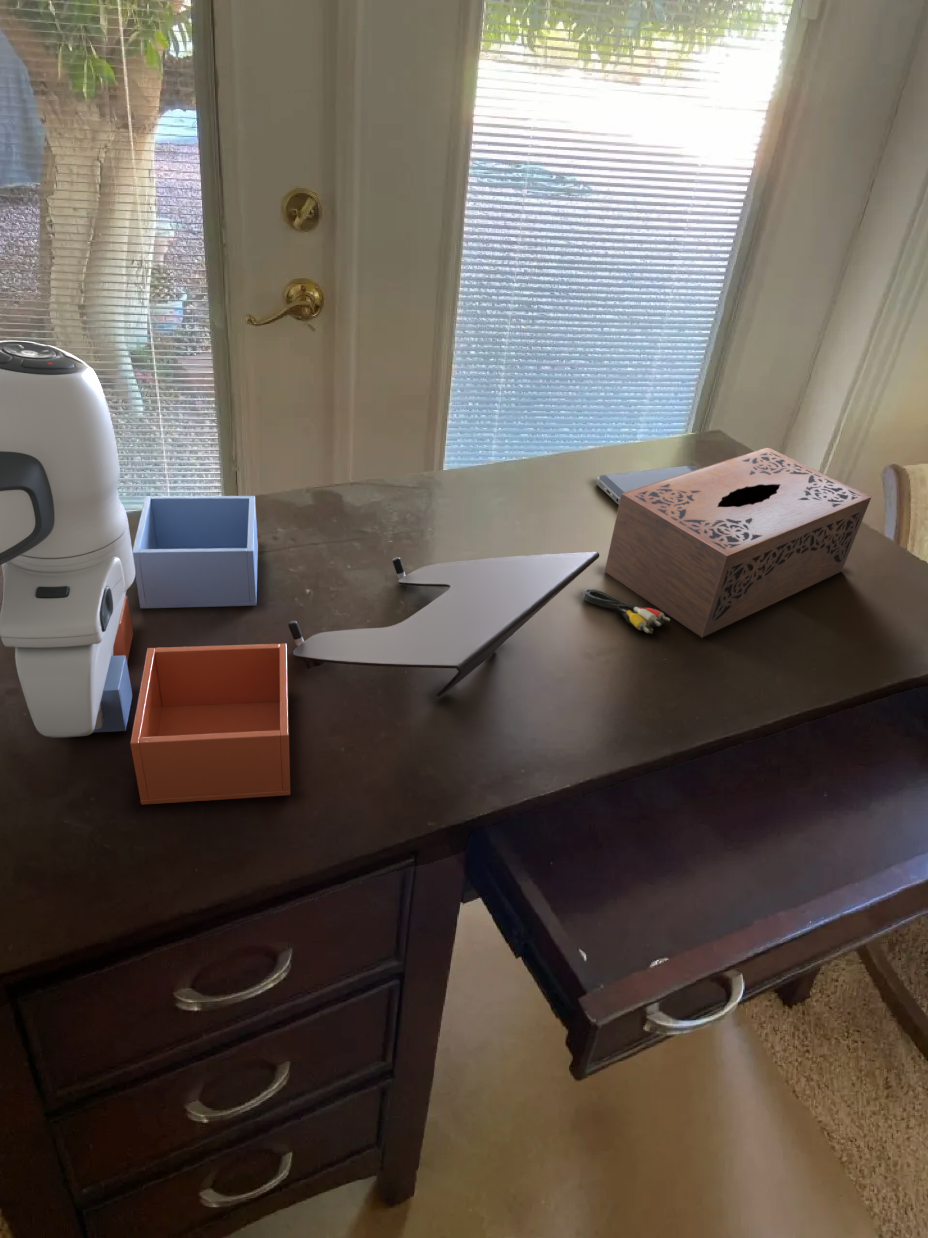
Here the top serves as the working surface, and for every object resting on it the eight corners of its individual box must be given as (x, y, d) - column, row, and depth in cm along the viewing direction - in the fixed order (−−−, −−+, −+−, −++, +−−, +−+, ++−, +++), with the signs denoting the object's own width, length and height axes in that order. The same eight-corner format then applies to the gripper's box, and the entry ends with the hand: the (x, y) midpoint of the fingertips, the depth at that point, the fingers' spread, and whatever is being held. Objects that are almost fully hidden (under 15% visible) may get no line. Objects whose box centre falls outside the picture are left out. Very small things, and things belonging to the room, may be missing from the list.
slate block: (68, 734, 73) (58, 692, 70) (77, 697, 77) (68, 657, 74) (125, 731, 74) (118, 690, 71) (132, 695, 77) (125, 655, 75)
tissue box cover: (701, 637, 92) (726, 556, 86) (604, 571, 101) (621, 493, 95) (841, 571, 106) (871, 496, 100) (745, 518, 115) (767, 447, 109)
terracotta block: (74, 665, 80) (66, 625, 77) (83, 635, 84) (75, 596, 81) (127, 663, 81) (120, 624, 78) (133, 634, 84) (127, 595, 82)
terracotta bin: (141, 805, 68) (130, 743, 64) (156, 707, 77) (147, 647, 73) (290, 795, 70) (288, 735, 66) (288, 701, 79) (286, 643, 75)
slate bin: (140, 608, 88) (131, 552, 84) (152, 548, 97) (145, 495, 93) (256, 605, 90) (253, 551, 86) (257, 547, 99) (255, 495, 95)
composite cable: (577, 599, 96) (581, 580, 95) (607, 586, 99) (612, 567, 97) (645, 646, 90) (650, 626, 89) (676, 631, 93) (681, 612, 91)
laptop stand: (438, 620, 101) (414, 545, 97) (616, 619, 86) (594, 530, 83) (294, 725, 85) (260, 639, 82) (483, 746, 70) (449, 642, 67)
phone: (622, 509, 113) (724, 495, 119) (624, 502, 113) (726, 489, 119) (593, 482, 119) (692, 470, 125) (595, 475, 118) (694, 464, 124)
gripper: (52, 494, 74) (79, 627, 82) (-10, 644, 58) (32, 791, 66) (132, 493, 75) (151, 625, 83) (93, 641, 59) (121, 786, 67)
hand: (98, 700), depth 74 cm, fingers closed on slate block, 4 cm apart
